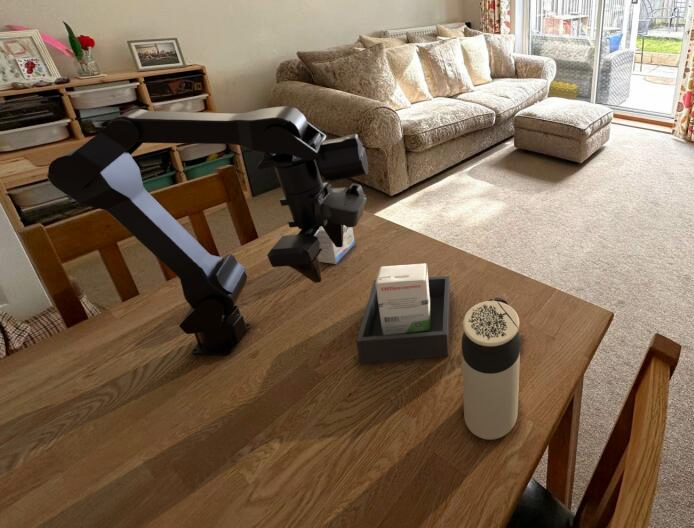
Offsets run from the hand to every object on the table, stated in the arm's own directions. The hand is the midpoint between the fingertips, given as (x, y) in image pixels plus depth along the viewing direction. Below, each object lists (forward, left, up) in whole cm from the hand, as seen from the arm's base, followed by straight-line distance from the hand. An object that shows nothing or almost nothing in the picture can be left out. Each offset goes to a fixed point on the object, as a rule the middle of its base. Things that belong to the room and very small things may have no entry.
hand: (329, 263), depth 71 cm
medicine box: (-9, +20, -14) cm, 26 cm away
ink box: (+13, -1, -13) cm, 18 cm away
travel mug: (+29, -17, -14) cm, 36 cm away
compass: (+31, -4, -14) cm, 34 cm away
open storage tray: (+13, -1, -13) cm, 19 cm away
